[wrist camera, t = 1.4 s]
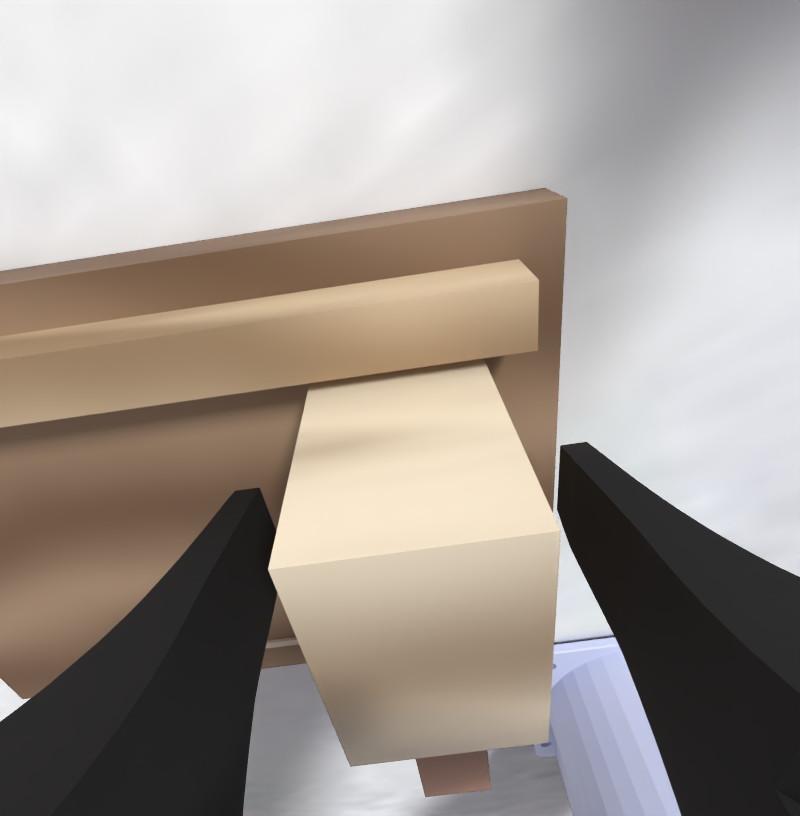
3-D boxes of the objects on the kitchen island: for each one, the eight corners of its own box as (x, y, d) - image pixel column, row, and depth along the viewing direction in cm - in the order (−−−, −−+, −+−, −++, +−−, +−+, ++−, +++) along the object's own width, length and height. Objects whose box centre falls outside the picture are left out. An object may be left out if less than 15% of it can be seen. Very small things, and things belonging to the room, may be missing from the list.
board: (535, 597, 19) (561, 672, 17) (45, 660, 20) (-4, 742, 17) (545, 188, 11) (595, 211, 9) (-276, 313, 12) (-455, 370, 9)
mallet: (492, 623, 17) (542, 835, 12) (382, 636, 18) (387, 854, 12) (477, 344, 12) (560, 530, 7) (312, 368, 12) (268, 569, 7)
